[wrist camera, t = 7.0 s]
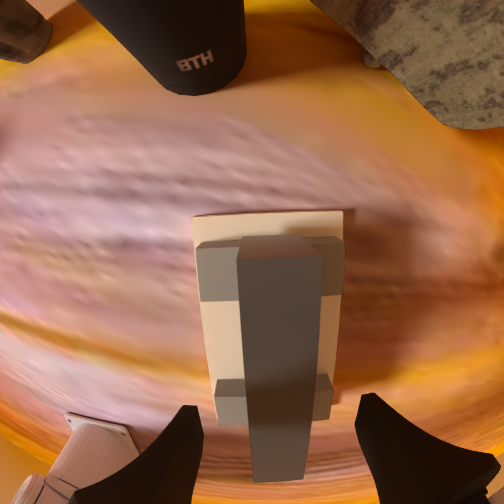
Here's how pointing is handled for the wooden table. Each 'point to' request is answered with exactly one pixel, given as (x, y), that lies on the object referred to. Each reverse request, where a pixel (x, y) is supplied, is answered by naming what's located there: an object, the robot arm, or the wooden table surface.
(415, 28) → the tabletop clock
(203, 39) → the wine bottle
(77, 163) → the wooden table surface
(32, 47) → the beverage cup
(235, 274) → the stand
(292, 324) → the handle bar
